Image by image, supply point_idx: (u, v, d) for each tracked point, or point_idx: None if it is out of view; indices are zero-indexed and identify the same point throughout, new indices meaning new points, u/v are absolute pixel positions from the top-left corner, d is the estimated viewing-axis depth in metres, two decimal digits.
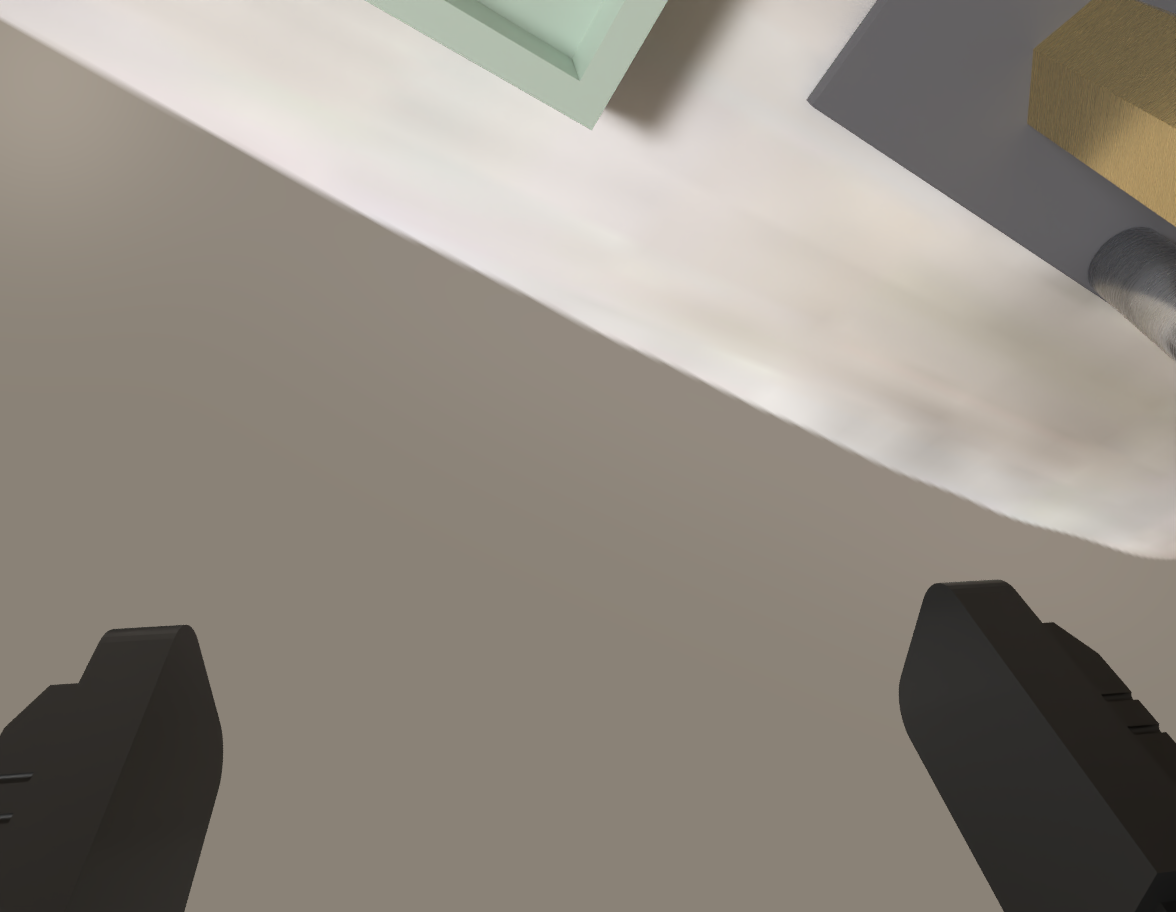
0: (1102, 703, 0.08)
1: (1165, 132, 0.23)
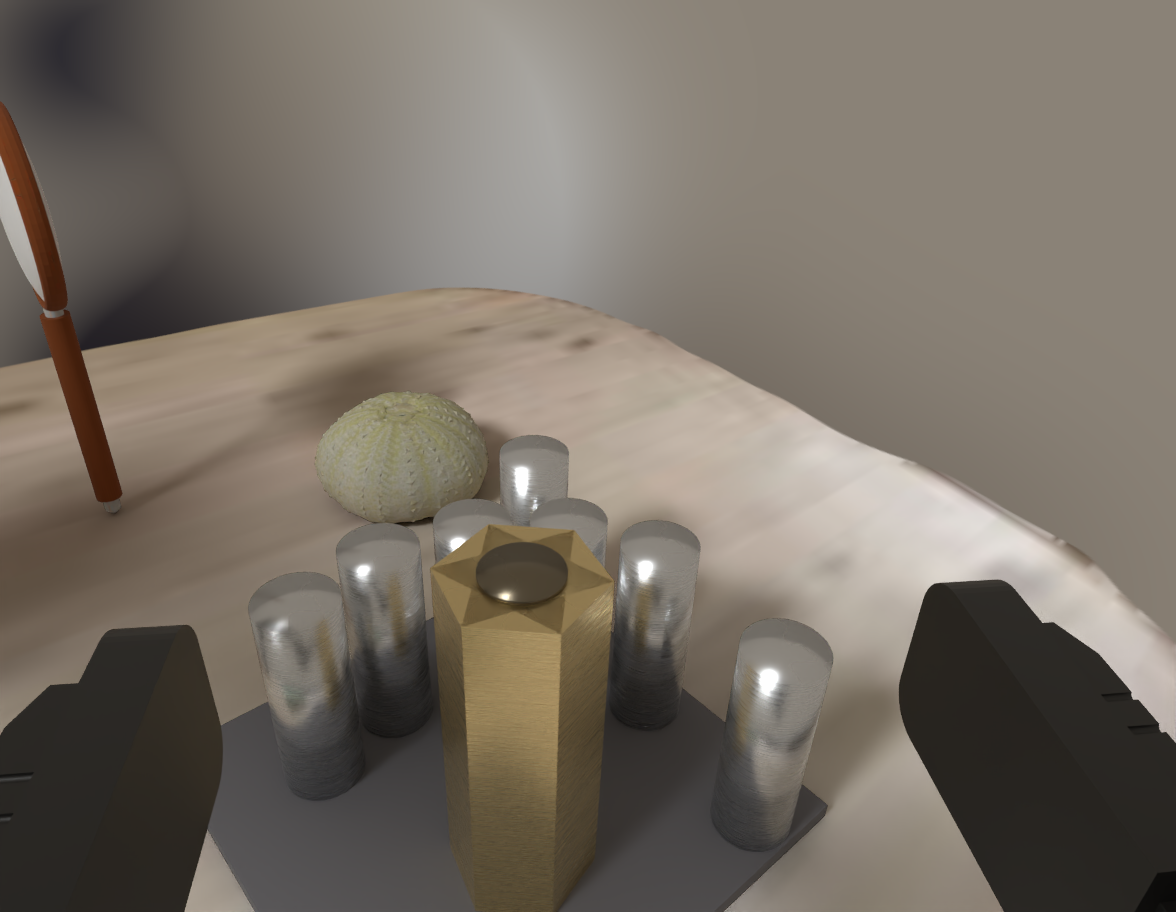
0: (1102, 703, 0.08)
1: (476, 768, 0.24)
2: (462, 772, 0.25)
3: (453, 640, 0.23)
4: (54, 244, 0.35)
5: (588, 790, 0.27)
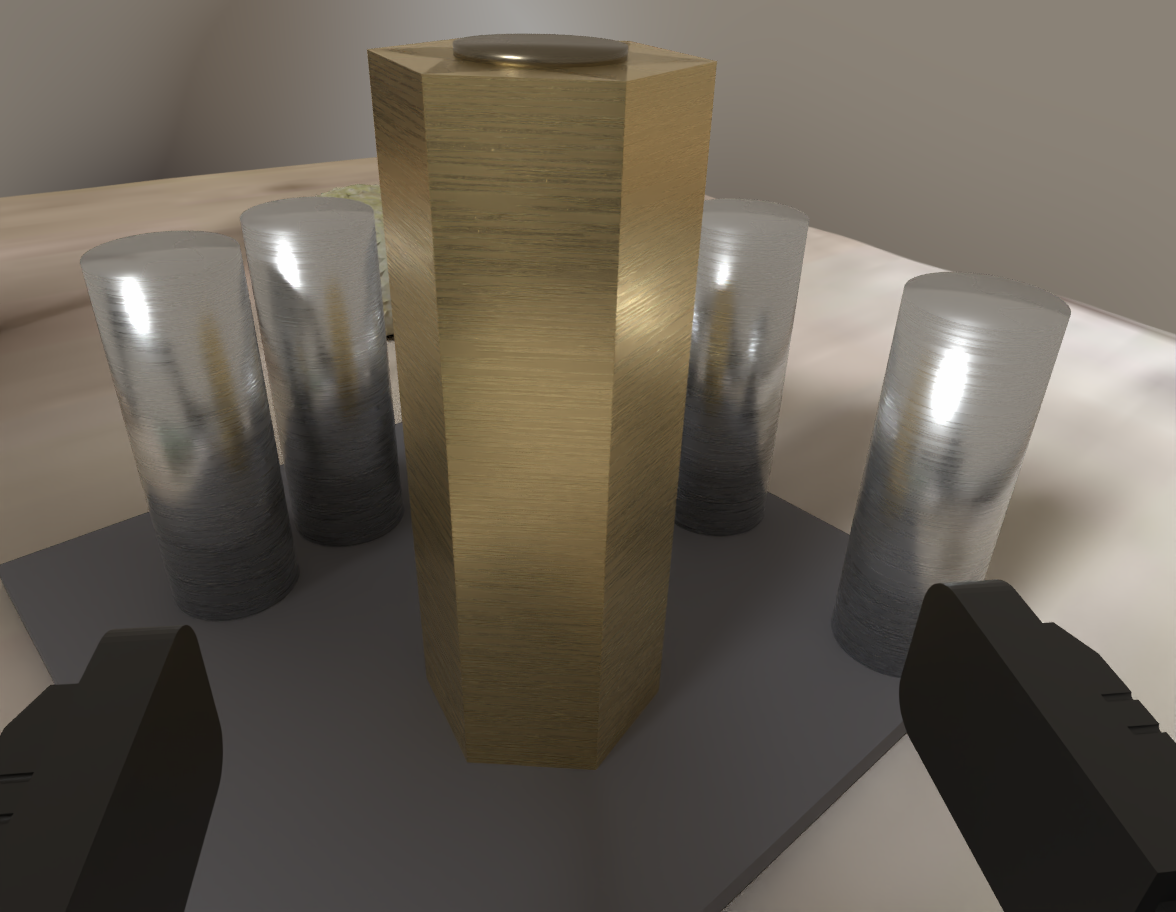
0: (1102, 704, 0.08)
1: (461, 449, 0.13)
2: (437, 479, 0.14)
3: (410, 153, 0.12)
4: None
5: (656, 539, 0.16)
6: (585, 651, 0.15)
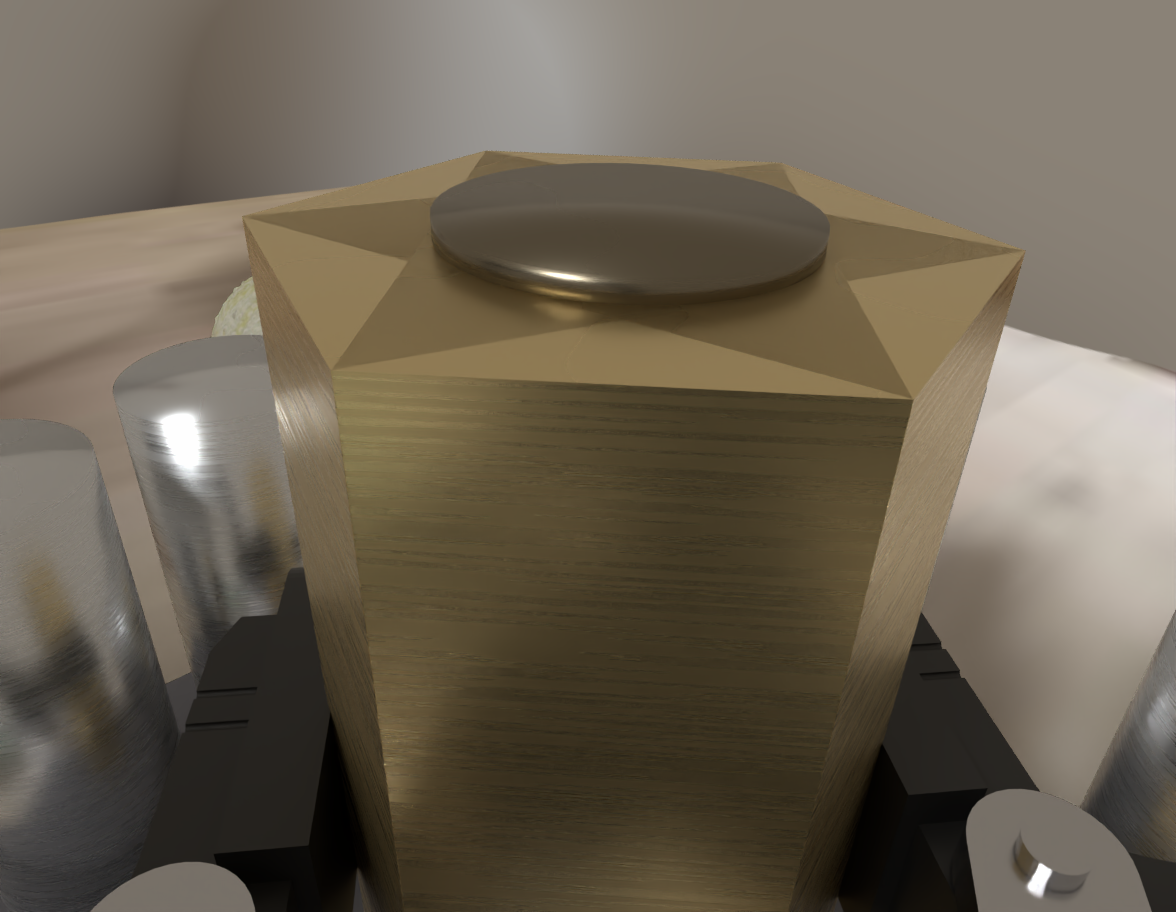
0: None
1: None
2: None
3: (324, 495, 0.05)
4: None
5: None
6: None
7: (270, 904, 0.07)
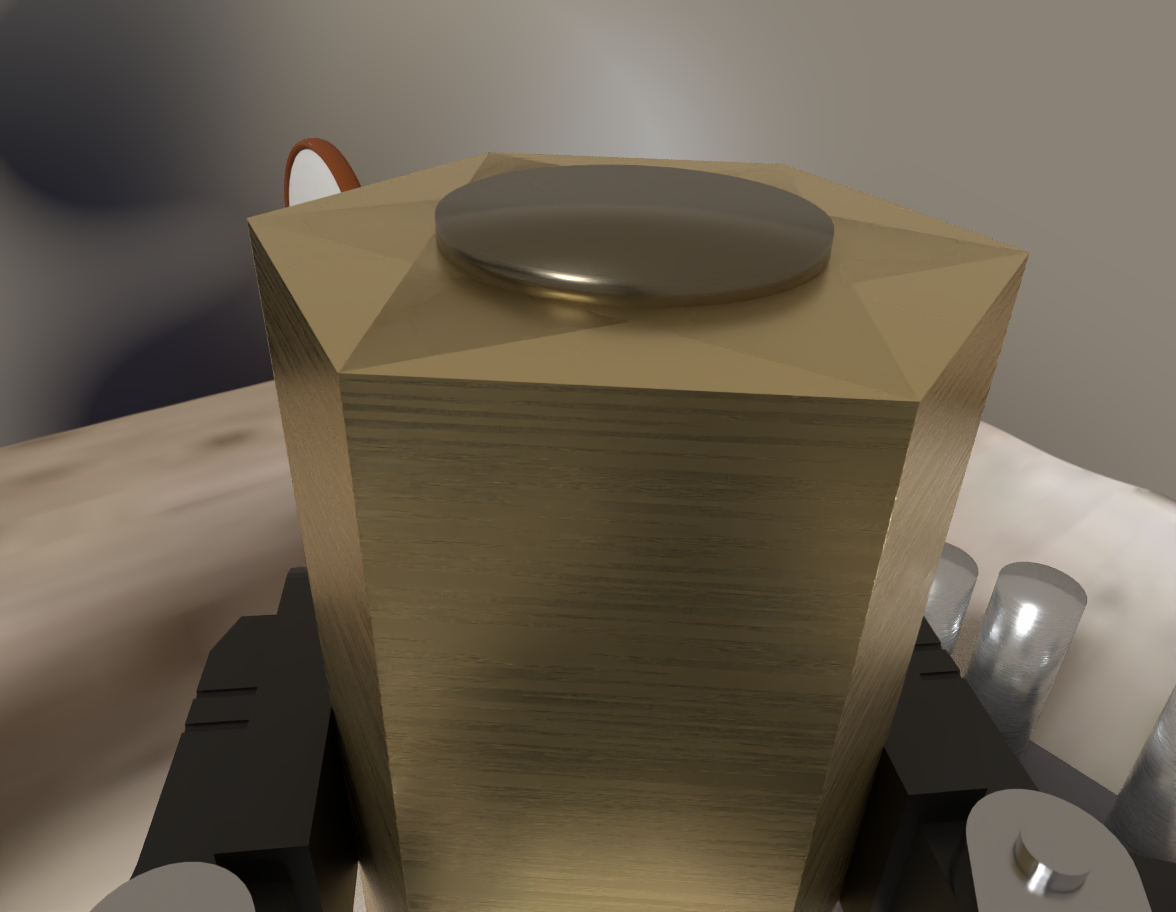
0: None
1: None
2: None
3: (329, 497, 0.05)
4: None
5: None
6: None
7: (270, 904, 0.07)
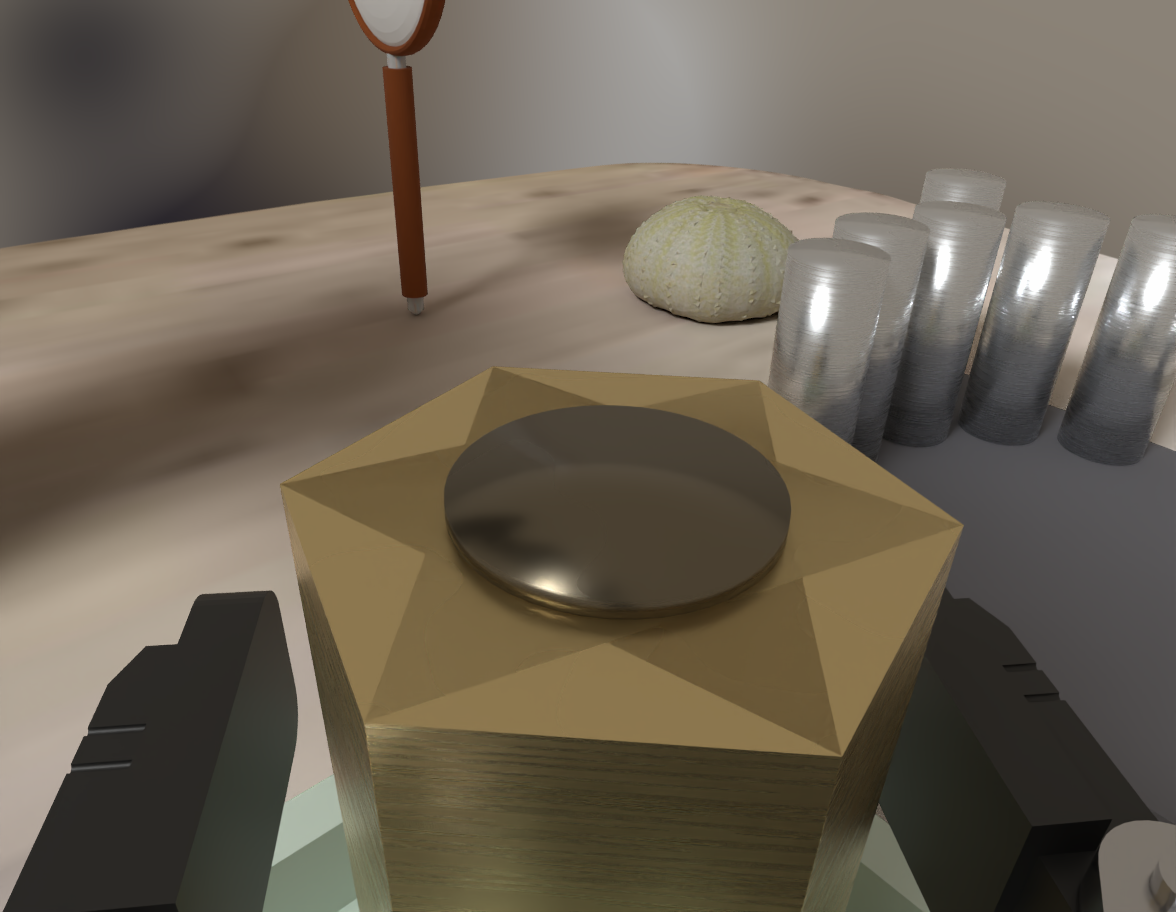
0: (1000, 671, 0.08)
1: None
2: None
3: (353, 760, 0.06)
4: None
5: None
6: None
7: None
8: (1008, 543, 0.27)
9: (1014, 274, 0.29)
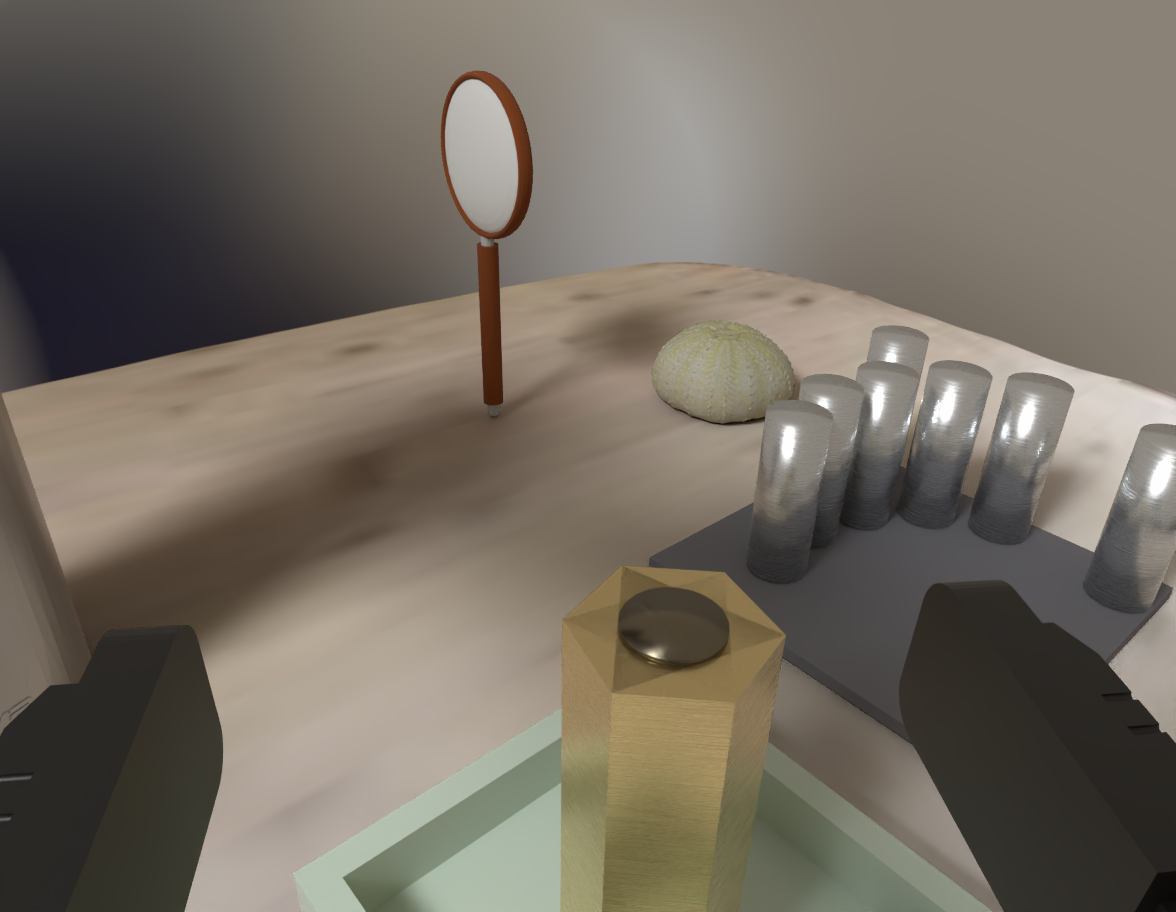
0: (1102, 703, 0.08)
1: (614, 861, 0.20)
2: (592, 864, 0.21)
3: (595, 708, 0.19)
4: (532, 178, 0.45)
5: (735, 883, 0.22)
6: None
7: None
8: (918, 603, 0.39)
9: (928, 413, 0.42)
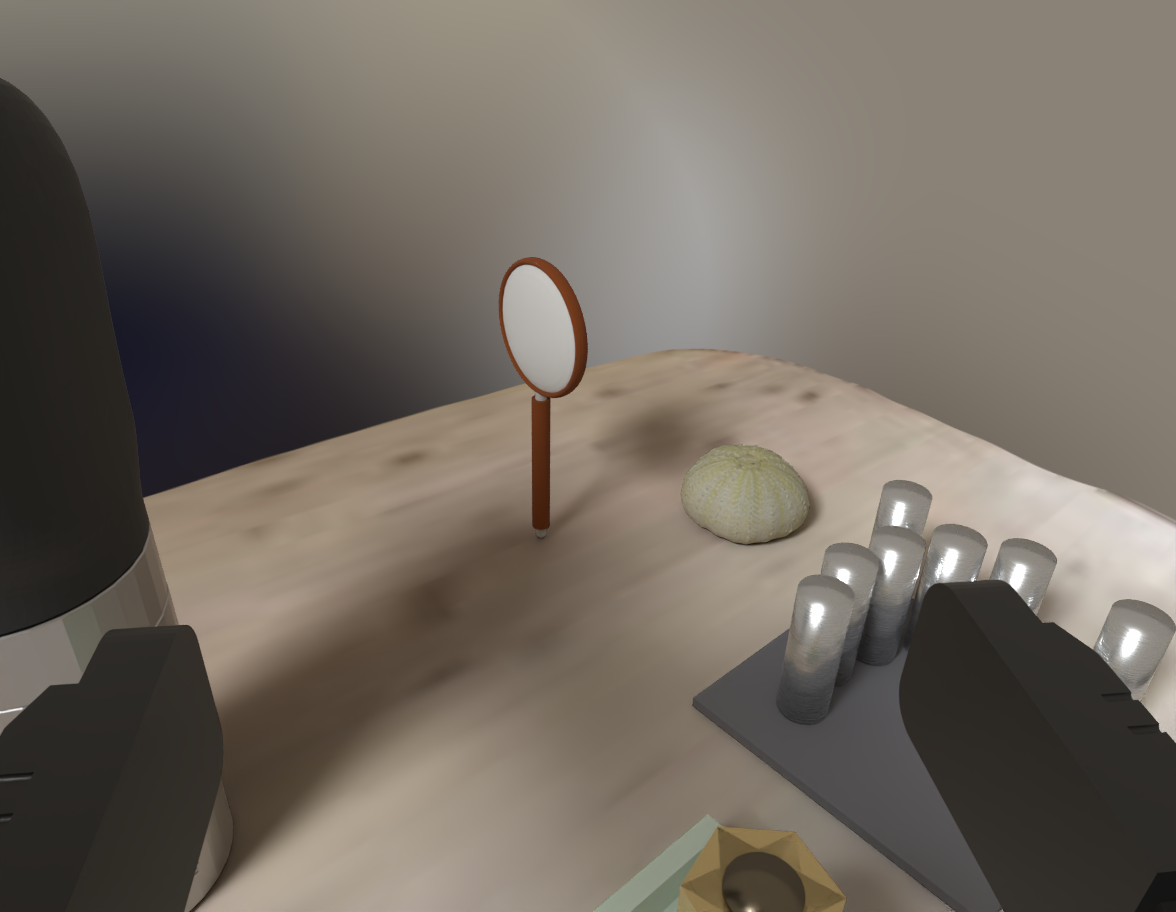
0: (1102, 703, 0.08)
1: None
2: None
3: None
4: None
5: None
6: None
7: None
8: None
9: (932, 572, 0.49)
